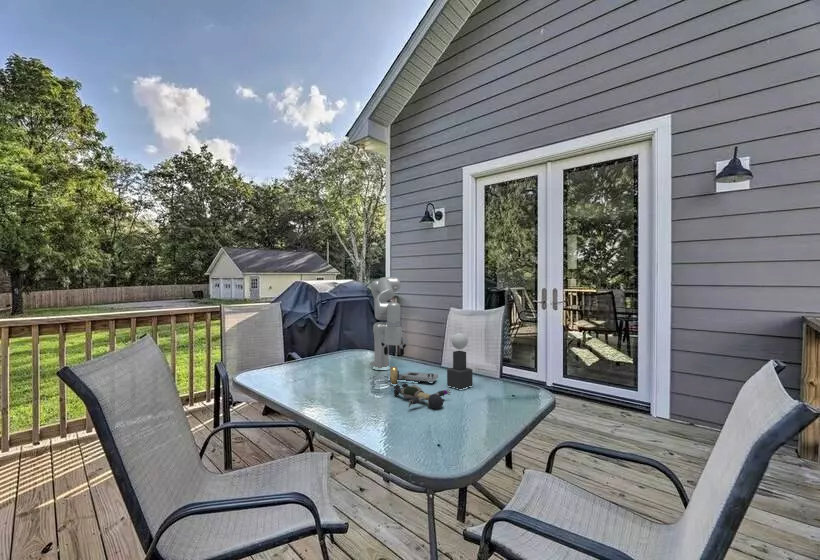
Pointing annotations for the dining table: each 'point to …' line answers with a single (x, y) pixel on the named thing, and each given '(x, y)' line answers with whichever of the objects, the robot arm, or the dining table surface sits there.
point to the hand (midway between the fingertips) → (393, 355)
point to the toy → (420, 395)
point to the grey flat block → (417, 376)
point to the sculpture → (459, 365)
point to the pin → (393, 375)
